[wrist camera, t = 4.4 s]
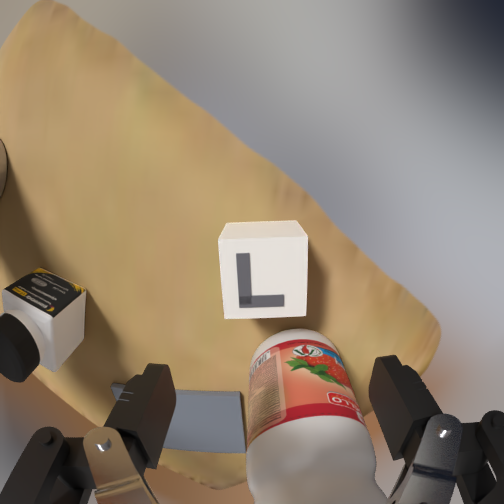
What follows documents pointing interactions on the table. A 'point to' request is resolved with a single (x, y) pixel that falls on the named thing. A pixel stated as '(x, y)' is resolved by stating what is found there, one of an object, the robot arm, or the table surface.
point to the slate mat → (204, 421)
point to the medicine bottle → (40, 323)
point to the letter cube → (263, 269)
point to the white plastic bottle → (306, 426)
